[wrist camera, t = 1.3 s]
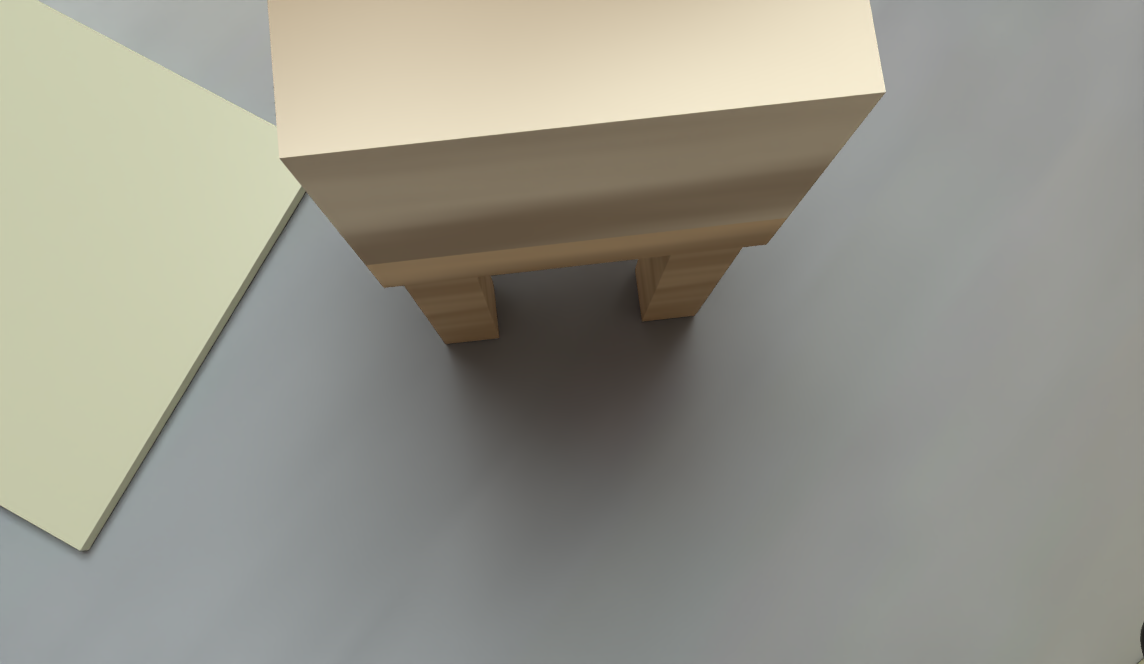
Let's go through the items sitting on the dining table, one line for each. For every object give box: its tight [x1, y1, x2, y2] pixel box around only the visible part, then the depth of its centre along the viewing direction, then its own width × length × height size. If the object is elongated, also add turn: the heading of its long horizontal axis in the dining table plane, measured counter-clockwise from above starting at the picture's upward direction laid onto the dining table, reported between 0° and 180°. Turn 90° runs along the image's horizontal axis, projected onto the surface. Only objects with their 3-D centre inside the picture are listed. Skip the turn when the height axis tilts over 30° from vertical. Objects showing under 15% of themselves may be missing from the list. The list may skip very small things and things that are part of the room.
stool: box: [267, 0, 886, 344], centre depth 17 cm, size 5×6×13 cm
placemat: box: [0, 0, 306, 551], centre depth 23 cm, size 10×10×1 cm
